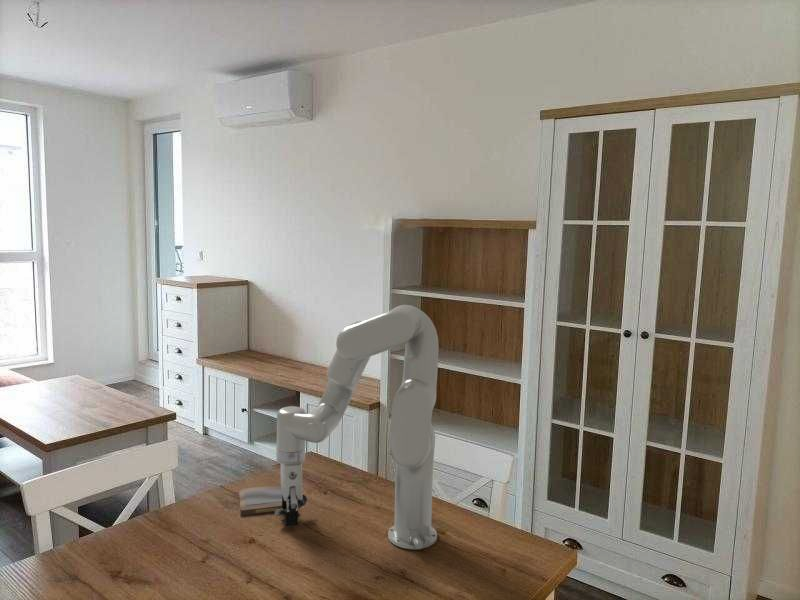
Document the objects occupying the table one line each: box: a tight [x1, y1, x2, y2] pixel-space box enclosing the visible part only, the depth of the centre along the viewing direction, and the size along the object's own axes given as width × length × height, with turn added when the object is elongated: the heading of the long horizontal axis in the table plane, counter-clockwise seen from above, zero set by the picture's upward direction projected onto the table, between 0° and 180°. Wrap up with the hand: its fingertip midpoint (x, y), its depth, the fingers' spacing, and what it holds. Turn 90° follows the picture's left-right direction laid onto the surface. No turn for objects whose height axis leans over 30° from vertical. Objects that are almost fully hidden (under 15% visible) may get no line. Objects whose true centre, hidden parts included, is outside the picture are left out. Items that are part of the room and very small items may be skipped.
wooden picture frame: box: [238, 484, 283, 516], centre depth 169 cm, size 14×14×2 cm
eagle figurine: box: [274, 494, 308, 529], centre depth 158 cm, size 8×7×9 cm
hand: (289, 516), depth 157 cm, fingers closed on eagle figurine, 8 cm apart
